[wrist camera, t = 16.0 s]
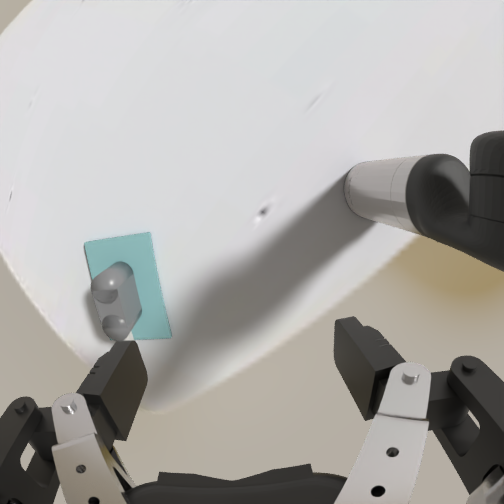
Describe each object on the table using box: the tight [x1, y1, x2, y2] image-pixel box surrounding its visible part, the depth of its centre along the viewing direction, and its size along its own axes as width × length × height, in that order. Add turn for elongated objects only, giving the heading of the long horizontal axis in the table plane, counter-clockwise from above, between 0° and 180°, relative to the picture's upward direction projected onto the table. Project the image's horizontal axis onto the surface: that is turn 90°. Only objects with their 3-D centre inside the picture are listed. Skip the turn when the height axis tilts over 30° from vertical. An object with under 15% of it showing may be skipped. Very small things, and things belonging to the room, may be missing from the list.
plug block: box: [91, 261, 142, 341], centre depth 39 cm, size 4×12×7 cm, turn 6°
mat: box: [84, 232, 172, 340], centre depth 42 cm, size 12×18×1 cm, turn 6°
